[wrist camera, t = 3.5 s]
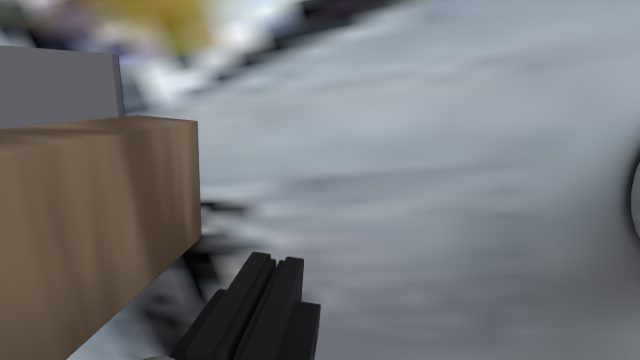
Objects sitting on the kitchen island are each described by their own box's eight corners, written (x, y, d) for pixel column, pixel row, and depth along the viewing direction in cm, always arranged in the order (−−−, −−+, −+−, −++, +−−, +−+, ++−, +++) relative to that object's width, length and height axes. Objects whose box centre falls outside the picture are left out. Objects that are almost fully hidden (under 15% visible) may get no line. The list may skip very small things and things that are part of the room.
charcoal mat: (118, 54, 18) (111, 53, 18) (140, 270, 23) (135, 274, 22) (-80, 39, 20) (-91, 38, 19) (-24, 245, 24) (-31, 248, 24)
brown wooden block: (197, 121, 19) (-57, 165, 7) (201, 237, 21) (13, 407, 10) (131, 114, 19) (-202, 146, 8) (143, 228, 22) (-104, 382, 10)
